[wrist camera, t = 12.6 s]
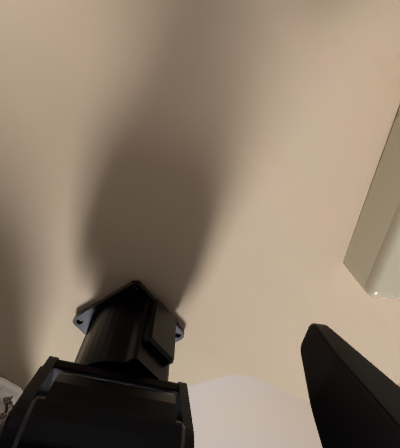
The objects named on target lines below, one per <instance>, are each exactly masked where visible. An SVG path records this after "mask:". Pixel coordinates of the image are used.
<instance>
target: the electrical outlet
mask: <svg viewBox="0 0 400 448" xmlns="http://www.w3.org/2000/svg"><path fill="white" fill-rule="evenodd" d="M343 264H344V265H345V267H346V268H347V269H348V271H349V272H350V273H351V274H352V276H353V277H354V278H355V279H356V281H357V282H358V283H359V284H360V286H361V287H362V288H363V289H364V290H365V292H366V293H367V294H368V295H369V296H371V297H373V298H382V299H394V300H400V108H399V111H398V115H397V116H396V119H395V122H394V124H393V127H392V130H391V133H390V135H389V138H388V141H387V143H386V146H385V149H384V152H383V154H382V157H381V160H380V162H379V165H378V168H377V171H376V173H375V176H374V179H373V181H372V184H371V187H370V190H369V192H368V195H367V198H366V200H365V203H364V206H363V209H362V211H361V214H360V217H359V220H358V222H357V225H356V228H355V230H354V233H353V236H352V239H351V241H350V244H349V247H348V249H347V252H346V255H345V258H344V261H343Z"/></svg>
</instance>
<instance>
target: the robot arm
mask: <svg viewBox="0 0 400 448" xmlns="http://www.w3.org/2000/svg"><path fill="white" fill-rule="evenodd" d="M133 287H138V289H134V288H133ZM78 319H79V320H78ZM80 320H82V321H80ZM73 323H74V325H75V326H77V327H78V328H79V329H80V330H81V331H82V332H83V333H84V334H85V338H84V340H83V343H82V345H81V347H80V350H79V352H78V355H77V357H76V359H75V362H74V363H73V362H68V361H63V360H59V358H57V357H52V356H49V358H48V359H47V361H46V362H45V364H44V365H43V366H41V367H40V368H39V369H38V371H37V372H36V374H35V375H34V377H33V378H32V380H31V381H30V383H29V384H28V386H27V387H26V388H25V390H24V391H23V393H22V394H21V396H20V397H19V399H18V400H17V402H16V403H15V405H14V406H13V407H12V409H11V410H10V412H9V414H8V415H7V416H6V417H5V418H4V419H3V420H2V421H1V422H0V448H194V431H193V424H192V417H191V410H190V403H189V396H188V390H187V383H182V382H178V383H174V382H169V381H168V375H169V365H170V364H172V363H173V361H174V351H175V342H177V341H179V340H181V339H182V338H183V337H184V330H183V329H182V327H181V326H180V325H179V324H178V323H177V322H176V318H175V317H174V316H173V315H172V314H171V313H170V312H169V311H168V310H167V309H166V307H165V306H164V305H163V304H162V303H161V302H160V301H159V300H158V299H156V298H154V297H153V295H152V294H151V293H150V292H149V291H148V290H147V289H146V288H145V287H144V285H143V284H142V283H141V282H139V281H132V282H130V283H129V284H127V285H125V286H124V287H122V288H120V289H119V290H117V291H115V292H114V293H112V294H110V295H109V296H107V297H105V298H103V299H102V300H100V301H98V302H97V303H95V304H93V305H92V306H90V307H88V308H87V309H85V310H83V311H82V312H80V313H78V314H77V315H76V316H75V317H74V319H73ZM176 333H180V334H176ZM301 356H302V361H303V367H304V372H305V378H306V383H307V389H308V394H309V399H310V404H311V408H312V412H313V416H314V419H315V423H316V426H317V430H318V433H319V437H320V440H321V443H322V447H323V448H400V387H399V386H398V385H396V384H395V383H394V382H393V381H392V380H390V379H389V378H388V377H387V376H386V375H385V374H383V373H382V372H381V371H380V370H379V369H378V368H376V367H375V366H374V365H373V364H372V363H370V362H369V361H368V360H367V359H366V358H365V357H363V356H362V355H361V354H360V353H359V352H358V351H356V350H355V349H354V348H353V347H352V346H350V345H349V344H348V343H347V342H346V341H345V340H343V339H342V338H341V337H340V336H339V335H337V334H336V333H335V332H334V331H333V330H332V329H330V328H329V327H328V326H326V325H323V324H315V323H313V324H311V325H310V326H309V328H308V330H307V333H306V335H305V337H304V339H303V342H302V344H301Z"/></svg>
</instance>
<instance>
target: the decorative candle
mask: <svg viewBox="0 0 400 448" xmlns="http://www.w3.org/2000/svg"><path fill="white" fill-rule="evenodd" d="M22 393H23V390H22V389H21V388H20V387H19V386H17V385H15V384H14V383H12V382H10V381H9V380H7V379H5V378H2V377H0V422H1V421H2V420H3V419H4V418H5V417H6V416H7V415H8V414H9V412H10V410H11V409H12V407H13V406H14V405H15V403H16V402H17V400H18V399H19V397H20V396H21V394H22Z"/></svg>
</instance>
